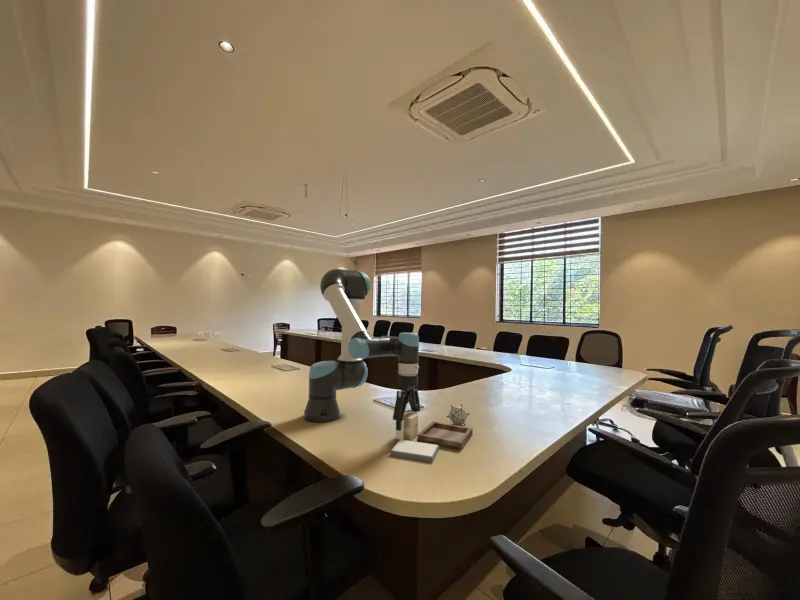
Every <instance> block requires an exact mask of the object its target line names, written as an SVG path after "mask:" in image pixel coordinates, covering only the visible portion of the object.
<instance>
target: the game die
mask: <svg viewBox="0 0 800 600" xmlns="http://www.w3.org/2000/svg"><path fill="white" fill-rule="evenodd" d="M450 407H451V408H450V411H449V413H448V415H446V418H449V420H450V422H452V424H453V425H457V426H460V425H464V426H466V424H465V423H466V420H467V418H468V417H469V415H470V414H471V413H468V412H467V411H466V410H465V409H464V407H463V404H460V405H456V406H453V405H452V404H450Z"/></svg>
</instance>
